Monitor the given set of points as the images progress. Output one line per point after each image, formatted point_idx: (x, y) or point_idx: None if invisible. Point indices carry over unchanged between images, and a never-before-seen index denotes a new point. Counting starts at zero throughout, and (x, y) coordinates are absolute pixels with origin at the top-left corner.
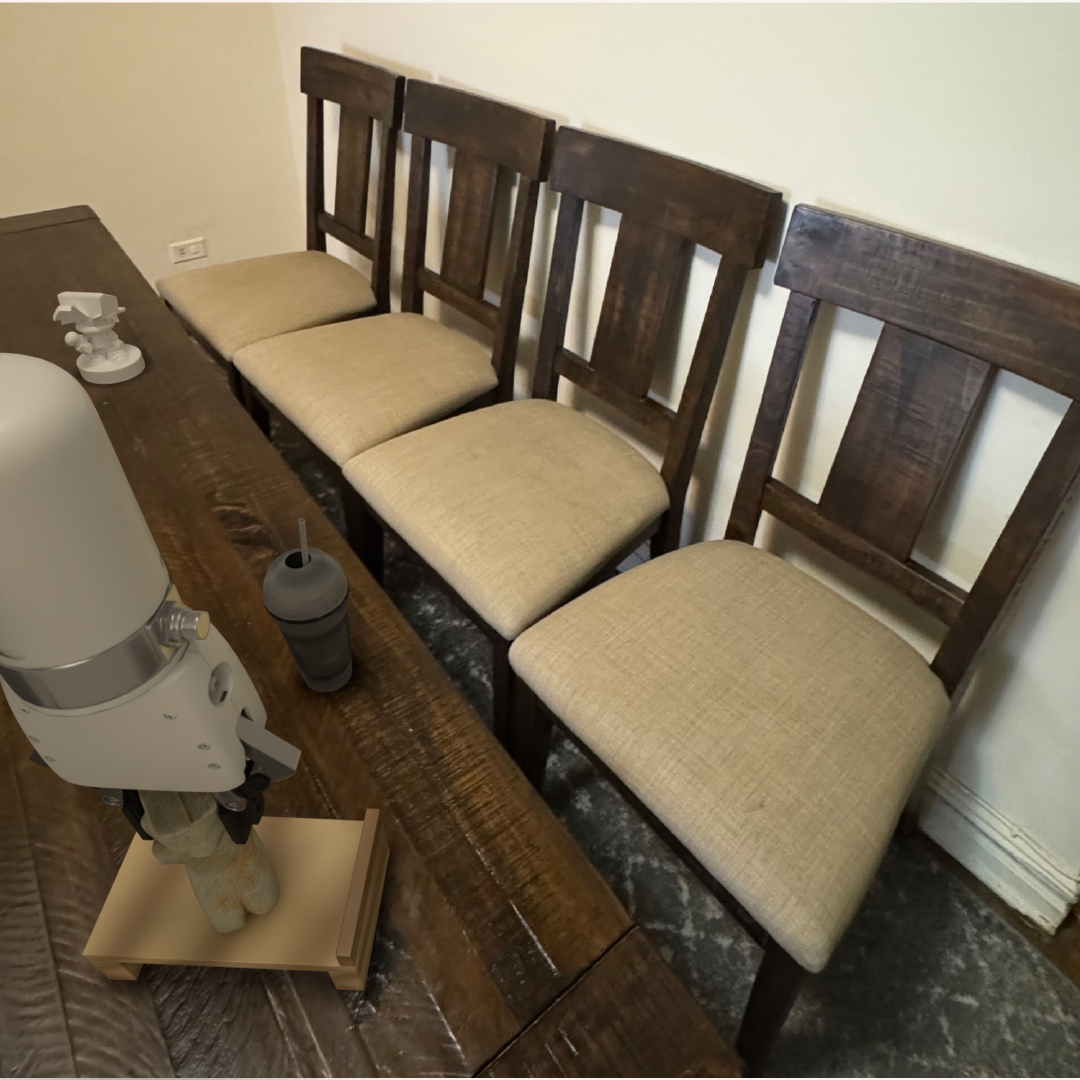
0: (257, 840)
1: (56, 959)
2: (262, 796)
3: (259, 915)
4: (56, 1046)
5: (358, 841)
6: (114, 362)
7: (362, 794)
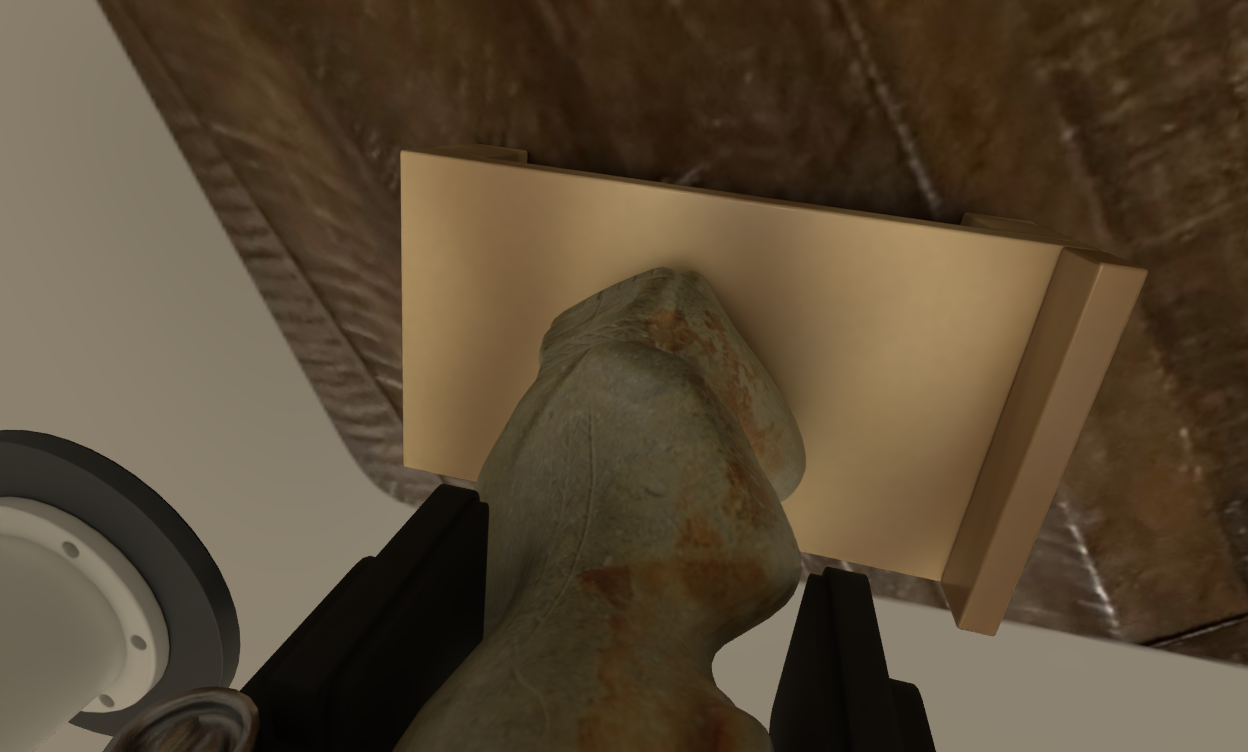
0: (760, 406)
1: (365, 360)
2: (927, 723)
3: None
4: (425, 484)
5: (1016, 306)
6: None
7: (969, 38)
